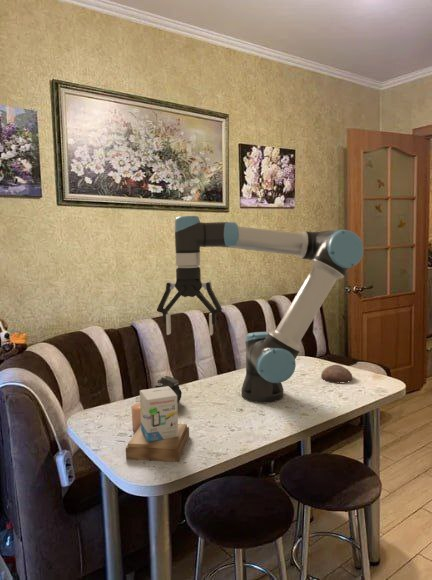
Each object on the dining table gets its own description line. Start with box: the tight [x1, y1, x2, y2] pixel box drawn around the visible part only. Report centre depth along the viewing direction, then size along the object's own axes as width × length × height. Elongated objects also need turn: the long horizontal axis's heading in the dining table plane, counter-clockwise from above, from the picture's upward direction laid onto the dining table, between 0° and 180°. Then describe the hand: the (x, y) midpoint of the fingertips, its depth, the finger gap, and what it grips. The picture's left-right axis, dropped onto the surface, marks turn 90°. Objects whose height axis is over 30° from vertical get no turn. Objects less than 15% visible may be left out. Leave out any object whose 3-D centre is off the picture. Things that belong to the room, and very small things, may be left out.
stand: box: [125, 423, 190, 463], centre depth 119 cm, size 14×14×4 cm
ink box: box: [139, 386, 179, 442], centre depth 119 cm, size 9×8×12 cm
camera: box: [150, 374, 182, 404], centre depth 149 cm, size 13×10×10 cm
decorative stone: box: [320, 364, 353, 384], centre depth 174 cm, size 12×12×6 cm
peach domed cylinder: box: [131, 402, 141, 434], centre depth 131 cm, size 6×6×7 cm
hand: (189, 334), depth 137 cm, fingers open, 13 cm apart
